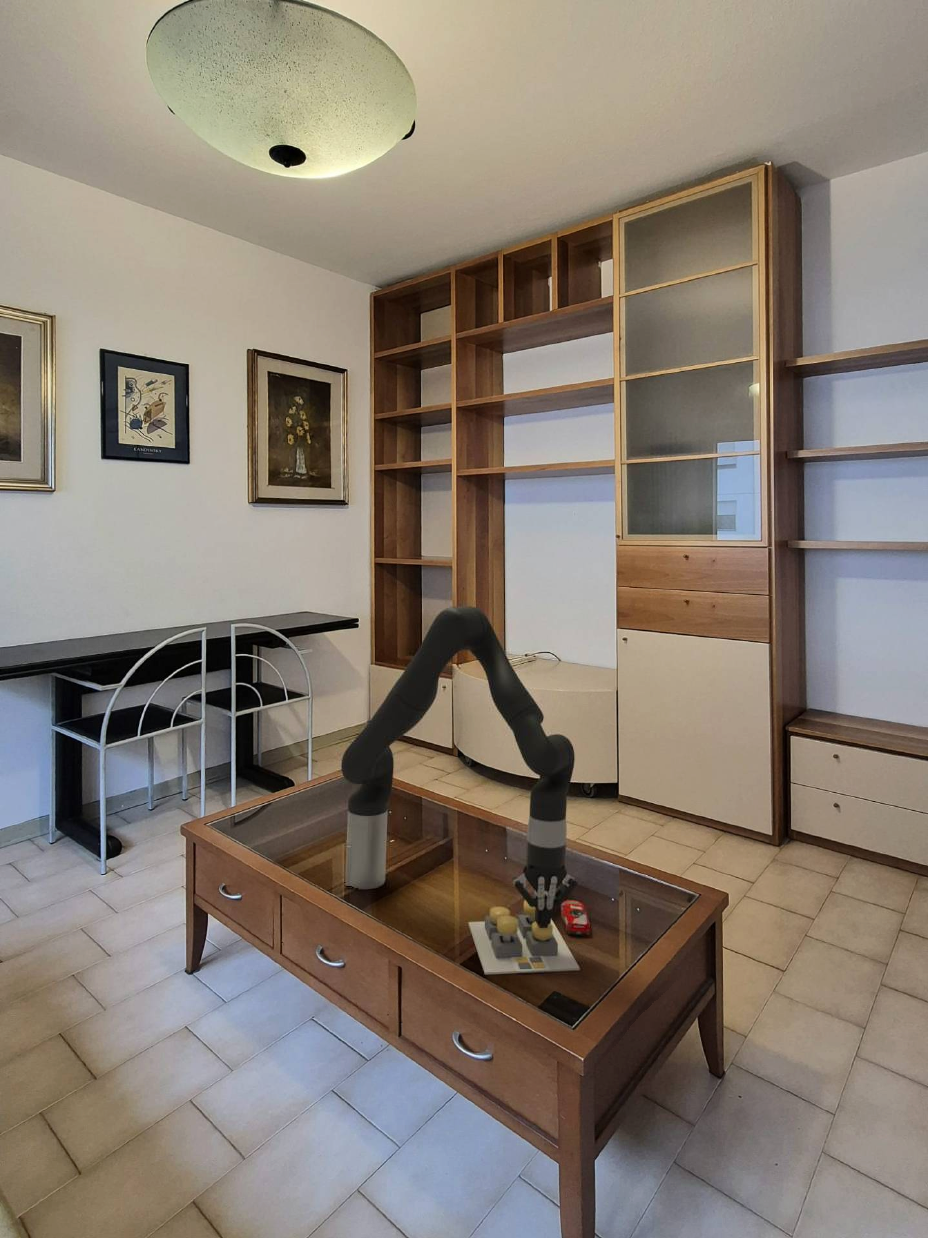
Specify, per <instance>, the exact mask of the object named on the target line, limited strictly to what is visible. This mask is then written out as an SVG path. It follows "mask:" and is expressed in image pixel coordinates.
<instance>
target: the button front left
mask: <svg viewBox="0 0 928 1238" xmlns="http://www.w3.org/2000/svg"><path fill="white" fill-rule="evenodd" d="M497 931H498V932H500V933H502V934H503V943H509V942H511V935H512V934H515V933H517V931H518V918H516V917H515V916H512V915H510V916H500V917H499V918H498V919H497Z"/></svg>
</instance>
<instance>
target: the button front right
mask: <svg viewBox="0 0 928 1238" xmlns="http://www.w3.org/2000/svg"><path fill="white" fill-rule="evenodd" d="M552 932H553V926H552V924H550V925H548V928H540V927H539V925H537V923H536V922H534V923H533V924H532V936H533V937H534V938H536V939H538V941H546V940H548V939H551V938H552Z"/></svg>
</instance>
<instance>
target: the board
mask: <svg viewBox="0 0 928 1238" xmlns="http://www.w3.org/2000/svg"><path fill="white" fill-rule="evenodd" d="M517 920H518V931H517V933H515V934H512V935H511V942H509V943H503V934H502V933H500V932H498V931H497V925H495V924H494V923H492V922H491V921H490V915H485V916H484V921H468V924H467V925H468V927H469V930H470V934H471V936H472V939H473V942H474V945H475V949H476V951H477V955H478V958H479V961H480V964H481V967H482V970H483V973H484V975H502V974H503V975H504V974H505V975H506V974H507V975H508V974H524V973H525V974H527V973H530V974H531V973H546V972H547V973H550V972H567V971H580V969H581V968H580V966H579V965H578V962H577V961H576V959H575V957H574V956H573V954H572V952H571V951H570V949H569V947H568V945H567V944H566V942H565V940H564V938H563V937H562V935H561V933H560V931H559V930H558V928H557V926H556V924H555V923H554V921H553V920H552V918H551V923H550V924H552V926H553V932H552V938H551V939H548V940H546V941H538V939H536V938H534V937H533V936H532V924H529V915H527V914H518V916H517Z"/></svg>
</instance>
